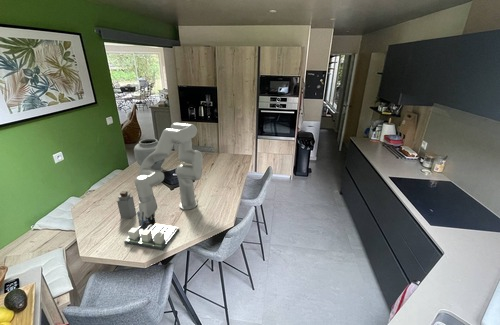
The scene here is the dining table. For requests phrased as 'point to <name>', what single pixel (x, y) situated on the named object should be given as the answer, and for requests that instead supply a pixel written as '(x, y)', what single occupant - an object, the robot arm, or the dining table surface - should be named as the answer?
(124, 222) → the dining table surface
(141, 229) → the panel
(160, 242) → the breaker high
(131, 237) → the block
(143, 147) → the ceramic vase
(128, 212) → the perfume bottle
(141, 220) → the label tape box
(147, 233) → the block
